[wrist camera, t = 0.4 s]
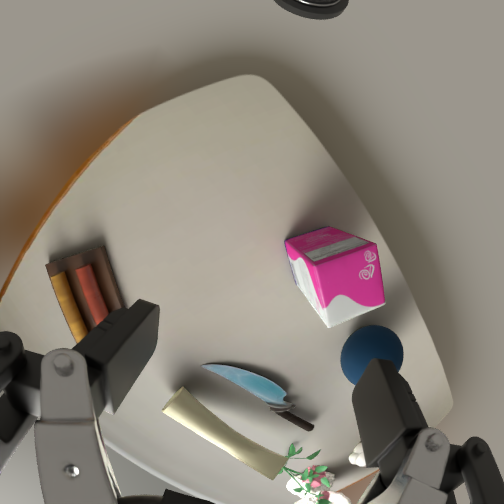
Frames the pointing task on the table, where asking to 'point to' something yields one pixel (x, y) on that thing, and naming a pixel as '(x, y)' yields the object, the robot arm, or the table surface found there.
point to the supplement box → (336, 273)
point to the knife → (261, 391)
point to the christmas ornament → (369, 350)
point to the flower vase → (242, 444)
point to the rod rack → (84, 289)
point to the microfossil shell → (358, 456)
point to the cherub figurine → (317, 491)
